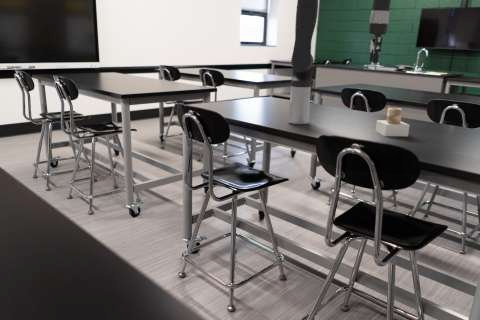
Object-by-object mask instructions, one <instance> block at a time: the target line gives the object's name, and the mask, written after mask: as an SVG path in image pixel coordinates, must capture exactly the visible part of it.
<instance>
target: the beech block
mask: <svg viewBox="0 0 480 320" xmlns="http://www.w3.org/2000/svg"><path fill="white" fill-rule="evenodd" d="M386 112H387V113H386V122H387V123H390V124H400V122H402V115H403V109H402V108H401V107H387V111H386Z"/></svg>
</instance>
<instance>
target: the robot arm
mask: <svg viewBox="0 0 480 320" xmlns="http://www.w3.org/2000/svg"><path fill="white" fill-rule="evenodd" d="M390 7H391V0H372V5H371V13H370V17H369V22H368V23H369V25H368V30H367V32H368V35H372V36H371V37H370V46H369V63H370V62H371V63H373V64H378V62H379V56H380V54H381V52H382V45H383V44H382V43H383V38H384V37H382V36H386V35H387V33H388V29H389V28H388V26H389V21H390V20H389V19H390V9H391V8H390ZM318 10H319V0H297V4H296V12H295V27H294V28H295V29H294V30H295V34H294V35H295V36H294V46H293V51H292V56H291V60H290V61H291V66H292V75H291V76H292V77H291V81H290V97H289V98H290V99H289V108H288V110H289V112H288V124H294V125H307V124H309V119H310V117H309V116H310V102H311V89H312V80H313V73H314V72H313V71H314V57H313V54H312V38H313V35H314V32H315V28H316V25H317V19H318V12H319V11H318Z"/></svg>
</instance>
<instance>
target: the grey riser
mask: <svg viewBox="0 0 480 320" xmlns="http://www.w3.org/2000/svg"><path fill="white" fill-rule="evenodd" d="M375 123H376V124H375V132H377V133H378V134H380V135H382V136H384V137H409V130H410V124H408V123H406V122H404V121H401V122H400V124H390V123H387V122H386V120H385V119H383V120H382V119H377V120H376V122H375Z"/></svg>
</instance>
